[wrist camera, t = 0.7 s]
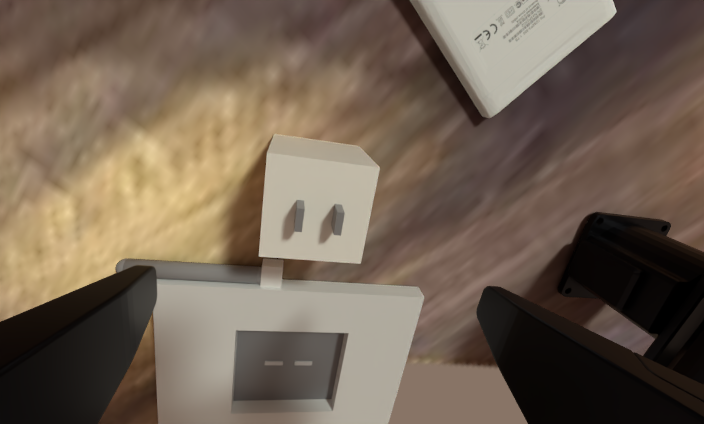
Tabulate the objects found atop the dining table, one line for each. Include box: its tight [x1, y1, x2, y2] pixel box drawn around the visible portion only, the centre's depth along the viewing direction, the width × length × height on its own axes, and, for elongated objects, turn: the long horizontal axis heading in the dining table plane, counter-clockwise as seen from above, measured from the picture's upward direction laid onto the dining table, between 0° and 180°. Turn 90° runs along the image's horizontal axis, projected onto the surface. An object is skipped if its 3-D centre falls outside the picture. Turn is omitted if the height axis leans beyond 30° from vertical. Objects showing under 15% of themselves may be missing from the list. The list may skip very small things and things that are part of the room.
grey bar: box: [116, 258, 284, 288], centre depth 19 cm, size 9×2×1 cm, turn 80°
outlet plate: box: [153, 279, 424, 424], centre depth 23 cm, size 16×13×1 cm
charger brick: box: [259, 134, 380, 264], centre depth 16 cm, size 5×5×6 cm
